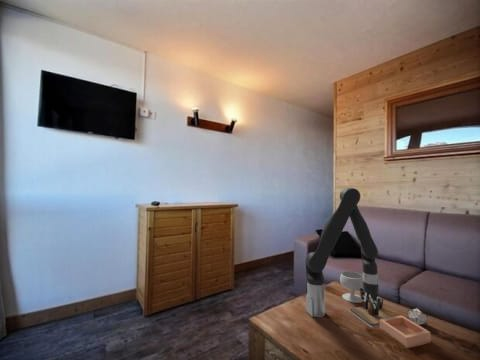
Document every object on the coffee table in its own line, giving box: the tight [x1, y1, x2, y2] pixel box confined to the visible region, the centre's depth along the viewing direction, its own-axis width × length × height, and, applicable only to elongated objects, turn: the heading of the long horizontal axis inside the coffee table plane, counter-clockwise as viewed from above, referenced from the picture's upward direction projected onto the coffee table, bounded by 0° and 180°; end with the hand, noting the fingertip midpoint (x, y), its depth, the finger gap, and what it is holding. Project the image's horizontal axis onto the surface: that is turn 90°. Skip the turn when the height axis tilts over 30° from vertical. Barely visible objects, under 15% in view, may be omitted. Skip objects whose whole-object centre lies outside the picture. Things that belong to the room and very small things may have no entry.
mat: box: [347, 308, 380, 328], centre depth 123 cm, size 17×17×1 cm
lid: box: [349, 300, 391, 326], centre depth 123 cm, size 15×15×7 cm
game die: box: [406, 306, 429, 326], centre depth 115 cm, size 9×8×10 cm
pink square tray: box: [379, 315, 432, 349], centre depth 107 cm, size 14×14×4 cm
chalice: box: [339, 270, 364, 304], centre depth 142 cm, size 14×14×15 cm
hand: (371, 311), depth 123 cm, fingers open, 5 cm apart
